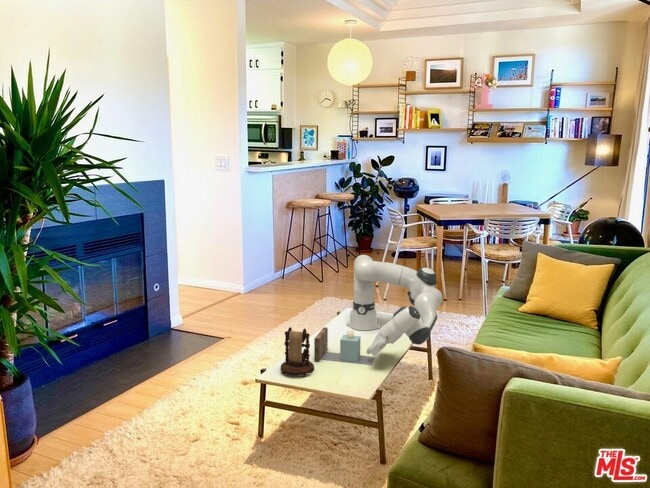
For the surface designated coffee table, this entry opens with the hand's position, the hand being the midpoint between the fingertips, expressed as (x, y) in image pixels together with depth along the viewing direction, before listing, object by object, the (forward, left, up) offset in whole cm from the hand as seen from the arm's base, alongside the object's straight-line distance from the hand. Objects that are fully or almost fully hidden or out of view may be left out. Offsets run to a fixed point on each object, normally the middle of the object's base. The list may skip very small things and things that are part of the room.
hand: (367, 352), depth 247 cm
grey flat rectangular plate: (0, -9, -5) cm, 10 cm away
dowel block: (0, -8, -4) cm, 9 cm away
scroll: (+18, -28, -5) cm, 34 cm away
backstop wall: (0, -22, -5) cm, 23 cm away
